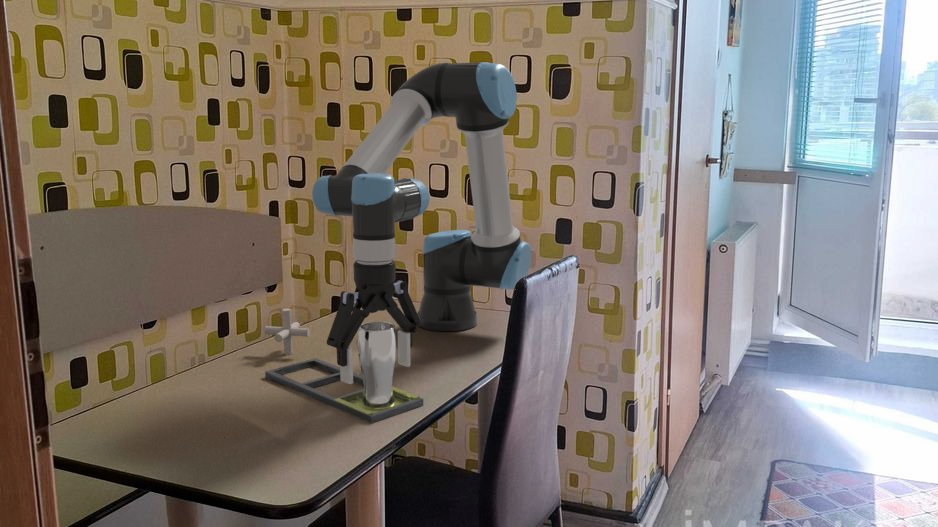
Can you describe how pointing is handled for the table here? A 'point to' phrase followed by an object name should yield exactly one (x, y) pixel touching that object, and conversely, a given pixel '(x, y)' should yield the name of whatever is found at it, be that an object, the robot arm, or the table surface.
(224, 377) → the table surface
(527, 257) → the robot arm
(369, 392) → the beer glass
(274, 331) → the pipe connector
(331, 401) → the grey flat frame
